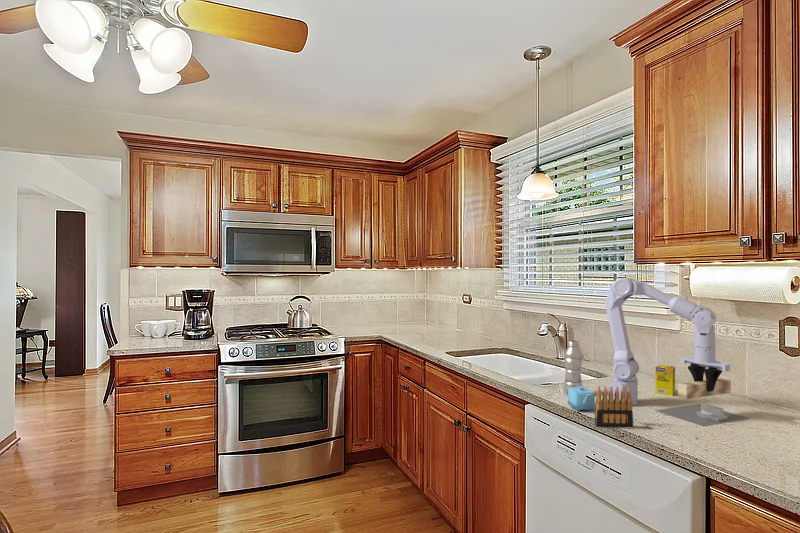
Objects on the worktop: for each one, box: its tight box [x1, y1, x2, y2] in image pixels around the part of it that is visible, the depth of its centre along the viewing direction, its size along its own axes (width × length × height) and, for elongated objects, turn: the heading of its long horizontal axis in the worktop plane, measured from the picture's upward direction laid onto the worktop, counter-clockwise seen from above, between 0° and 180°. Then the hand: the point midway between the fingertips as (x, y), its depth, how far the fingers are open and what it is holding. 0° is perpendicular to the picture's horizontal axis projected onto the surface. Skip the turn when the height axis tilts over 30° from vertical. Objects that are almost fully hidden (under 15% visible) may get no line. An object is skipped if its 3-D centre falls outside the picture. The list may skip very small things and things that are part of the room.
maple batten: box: [677, 377, 732, 400], centre depth 153 cm, size 20×3×4 cm, turn 112°
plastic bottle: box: [563, 339, 584, 394], centre depth 182 cm, size 6×7×20 cm
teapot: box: [567, 385, 596, 412], centre depth 162 cm, size 12×6×8 cm, turn 3°
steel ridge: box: [697, 403, 728, 422], centre depth 151 cm, size 4×7×4 cm, turn 21°
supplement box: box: [654, 364, 676, 397], centre depth 181 cm, size 6×6×11 cm
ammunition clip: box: [594, 385, 634, 429], centre depth 145 cm, size 11×2×12 cm, turn 86°
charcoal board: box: [654, 403, 752, 427], centre depth 154 cm, size 21×17×1 cm
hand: (704, 389), depth 153 cm, fingers closed on maple batten, 3 cm apart
